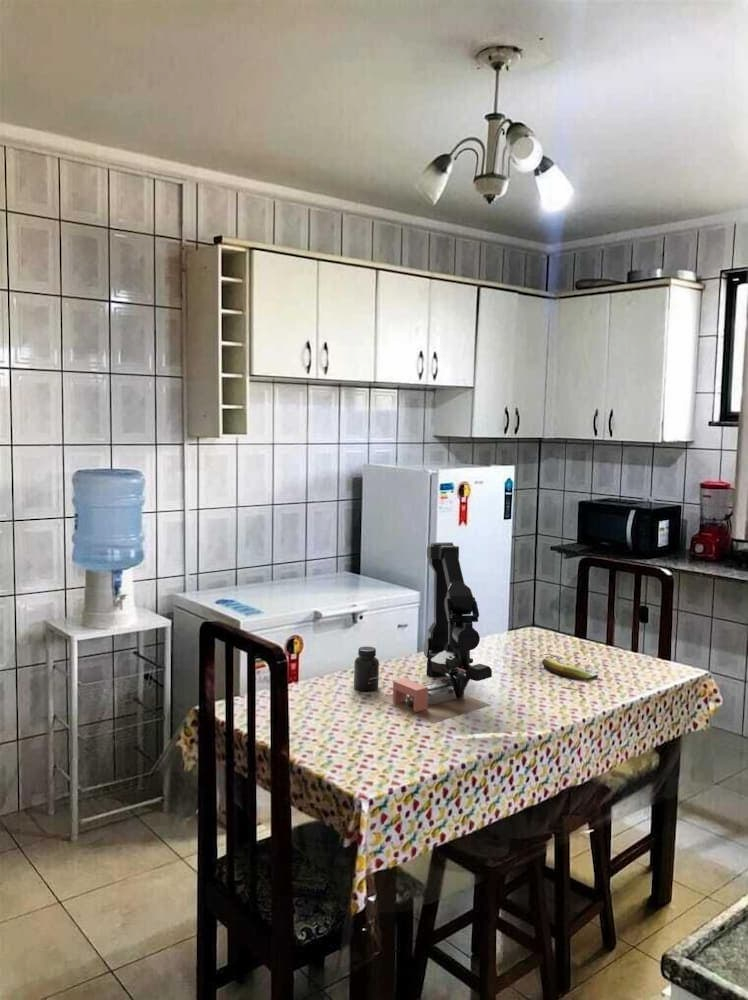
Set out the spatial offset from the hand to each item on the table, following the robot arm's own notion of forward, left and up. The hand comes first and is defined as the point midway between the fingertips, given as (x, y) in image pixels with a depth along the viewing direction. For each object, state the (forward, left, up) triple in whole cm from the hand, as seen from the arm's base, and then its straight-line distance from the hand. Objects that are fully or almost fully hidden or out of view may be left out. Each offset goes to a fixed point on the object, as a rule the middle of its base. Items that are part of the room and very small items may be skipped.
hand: (458, 697), depth 221 cm
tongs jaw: (+4, -3, -1) cm, 5 cm away
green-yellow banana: (-45, +1, -3) cm, 45 cm away
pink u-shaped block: (+13, -5, -1) cm, 14 cm away
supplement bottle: (+13, -23, -2) cm, 27 cm away
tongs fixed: (+5, -6, -1) cm, 8 cm away
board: (+5, -4, -2) cm, 7 cm away
